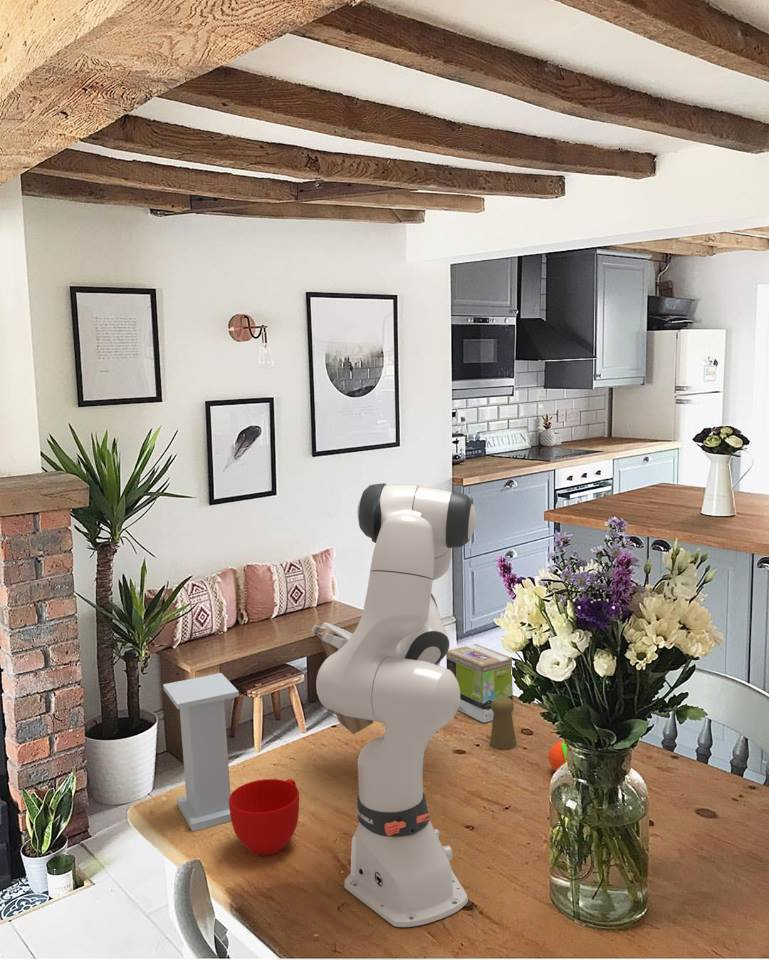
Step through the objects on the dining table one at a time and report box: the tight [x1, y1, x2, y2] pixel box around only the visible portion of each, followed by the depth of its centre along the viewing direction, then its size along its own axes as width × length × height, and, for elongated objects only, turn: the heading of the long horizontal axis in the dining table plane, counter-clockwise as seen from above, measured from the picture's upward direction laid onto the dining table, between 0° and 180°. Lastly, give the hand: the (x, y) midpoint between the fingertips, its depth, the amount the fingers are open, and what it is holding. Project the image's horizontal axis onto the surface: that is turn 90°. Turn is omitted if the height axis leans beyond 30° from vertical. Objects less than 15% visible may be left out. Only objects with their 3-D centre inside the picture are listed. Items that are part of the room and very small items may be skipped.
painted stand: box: [162, 672, 240, 832], centre depth 178 cm, size 12×12×26 cm
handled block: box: [319, 628, 375, 735], centre depth 190 cm, size 8×22×5 cm
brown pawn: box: [489, 696, 517, 751], centre depth 204 cm, size 6×6×11 cm
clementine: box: [548, 740, 567, 772], centre depth 189 cm, size 8×7×7 cm
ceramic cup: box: [229, 778, 300, 856], centre depth 168 cm, size 13×17×10 cm
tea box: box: [445, 643, 514, 723], centre depth 224 cm, size 15×10×15 cm, turn 32°
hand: (318, 632), depth 187 cm, fingers closed on handled block, 4 cm apart
